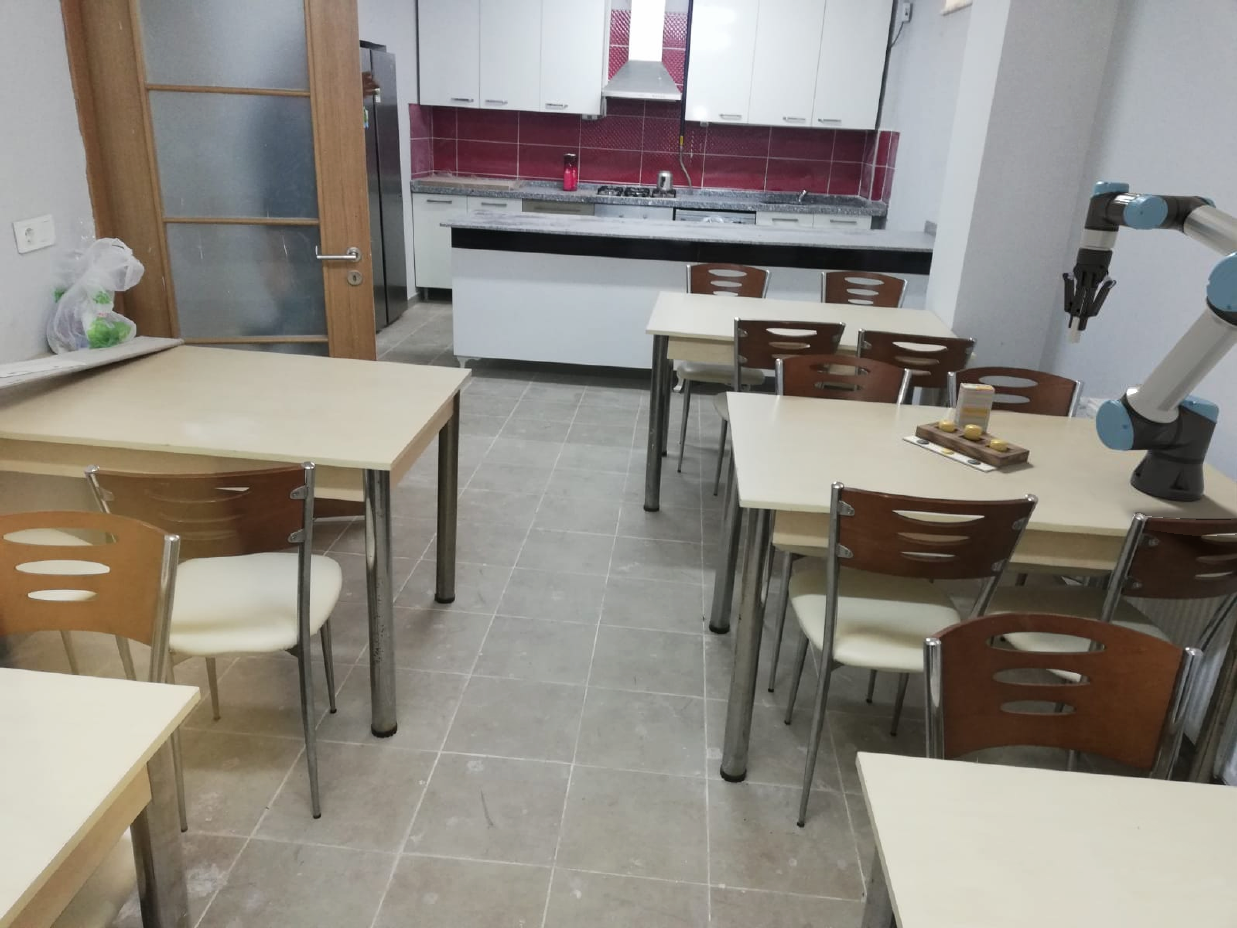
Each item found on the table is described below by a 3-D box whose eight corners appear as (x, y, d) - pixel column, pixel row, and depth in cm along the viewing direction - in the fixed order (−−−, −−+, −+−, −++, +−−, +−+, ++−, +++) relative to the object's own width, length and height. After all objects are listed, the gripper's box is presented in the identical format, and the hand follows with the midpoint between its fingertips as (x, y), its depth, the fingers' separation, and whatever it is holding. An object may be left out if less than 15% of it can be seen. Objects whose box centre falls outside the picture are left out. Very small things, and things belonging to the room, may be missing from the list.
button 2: (1008, 453, 223) (1011, 443, 222) (999, 456, 221) (1001, 445, 220) (995, 448, 227) (997, 438, 226) (985, 450, 224) (987, 440, 223)
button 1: (956, 434, 236) (958, 424, 235) (947, 436, 234) (949, 426, 233) (944, 429, 239) (946, 420, 238) (934, 431, 237) (936, 422, 236)
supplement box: (981, 429, 247) (990, 384, 242) (986, 434, 243) (996, 389, 238) (951, 426, 248) (960, 382, 243) (955, 432, 243) (965, 387, 239)
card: (996, 469, 217) (996, 467, 217) (985, 472, 215) (985, 470, 215) (913, 436, 237) (913, 435, 237) (902, 439, 235) (902, 437, 235)
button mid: (983, 438, 229) (985, 428, 228) (973, 440, 227) (975, 430, 226) (970, 433, 232) (972, 423, 231) (960, 435, 230) (962, 425, 229)
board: (1027, 461, 224) (1029, 450, 223) (998, 468, 218) (1000, 457, 217) (943, 430, 244) (945, 420, 243) (915, 436, 238) (917, 426, 237)
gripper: (1131, 251, 210) (1106, 347, 219) (1080, 243, 221) (1058, 335, 229) (1113, 252, 207) (1089, 349, 215) (1062, 244, 217) (1041, 337, 225)
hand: (1073, 342), depth 222 cm, fingers closed
